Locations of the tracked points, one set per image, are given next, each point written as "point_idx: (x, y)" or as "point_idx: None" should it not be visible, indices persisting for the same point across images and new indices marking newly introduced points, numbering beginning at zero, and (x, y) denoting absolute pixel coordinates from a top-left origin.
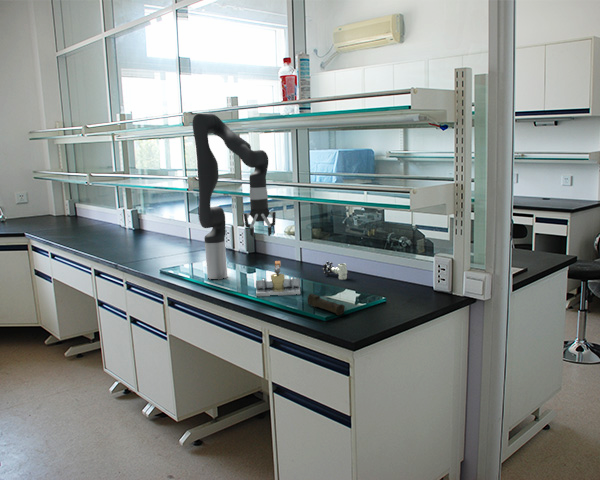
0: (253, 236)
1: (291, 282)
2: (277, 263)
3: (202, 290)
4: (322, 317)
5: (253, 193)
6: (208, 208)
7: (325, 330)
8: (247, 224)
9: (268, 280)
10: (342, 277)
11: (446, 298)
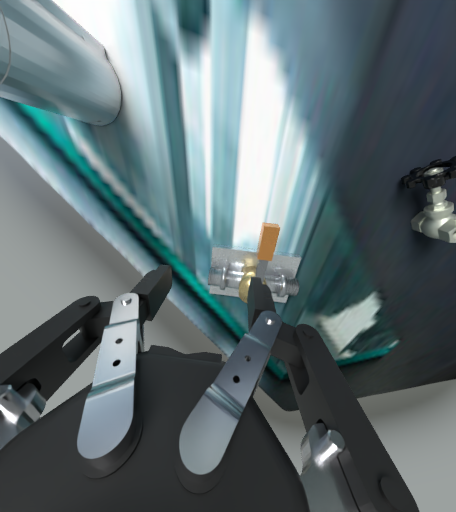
0: (170, 286)
1: (277, 295)
2: (264, 259)
3: (100, 222)
4: (282, 372)
5: None
6: None
7: (273, 393)
8: (94, 343)
9: (233, 286)
10: (419, 231)
11: None
